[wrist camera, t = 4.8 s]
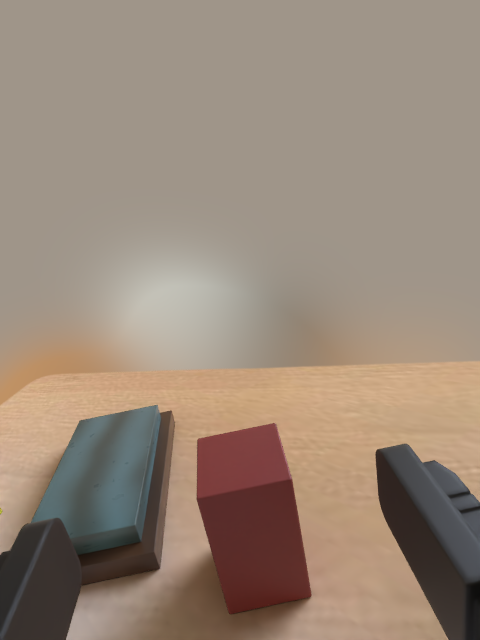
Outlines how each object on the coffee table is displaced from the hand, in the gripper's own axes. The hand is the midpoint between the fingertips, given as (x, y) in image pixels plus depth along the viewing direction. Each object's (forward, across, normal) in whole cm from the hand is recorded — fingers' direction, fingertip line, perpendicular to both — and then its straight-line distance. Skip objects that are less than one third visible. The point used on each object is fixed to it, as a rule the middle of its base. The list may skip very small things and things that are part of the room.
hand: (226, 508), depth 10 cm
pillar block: (+11, 0, -16) cm, 20 cm away
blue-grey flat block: (+21, -12, -16) cm, 29 cm away
